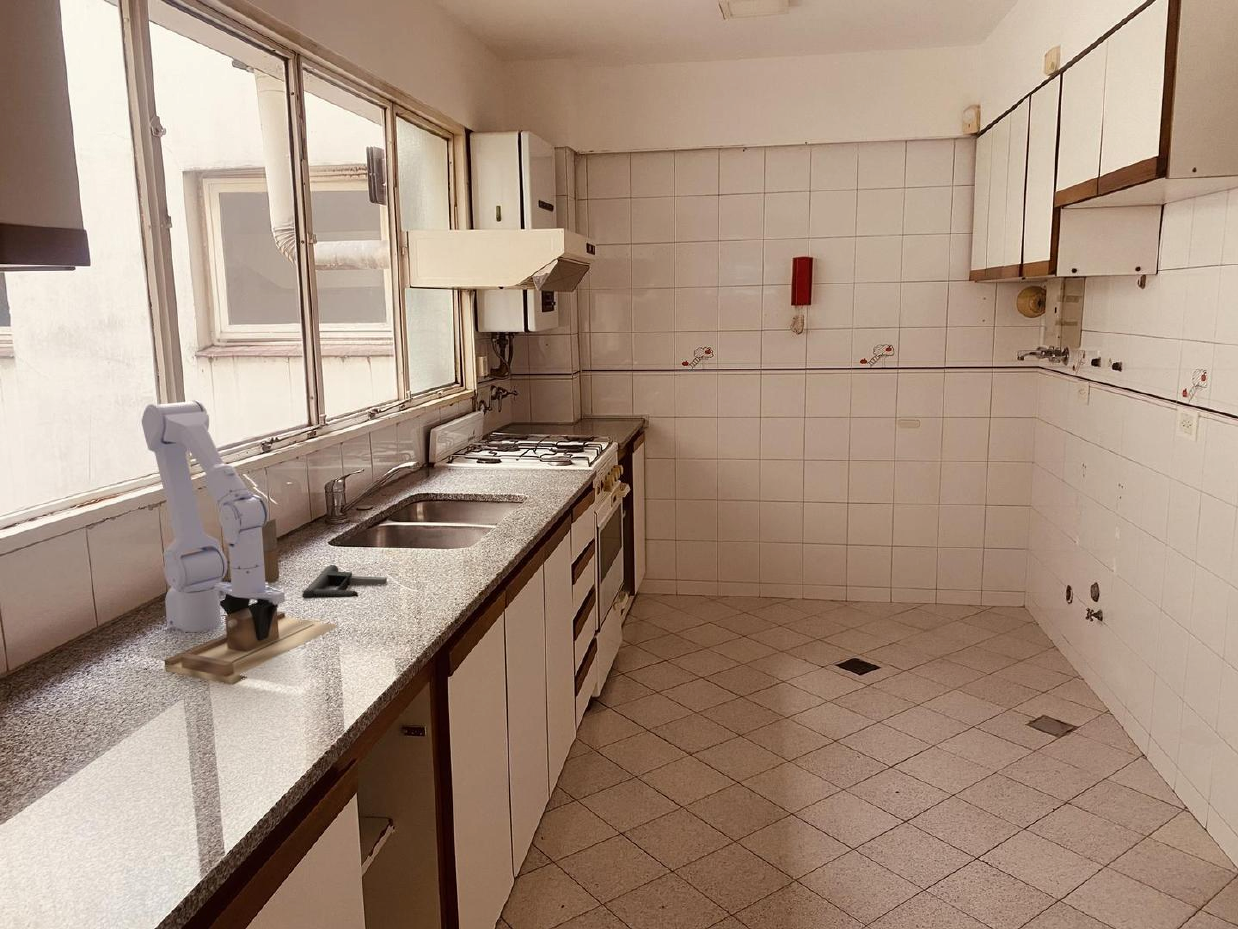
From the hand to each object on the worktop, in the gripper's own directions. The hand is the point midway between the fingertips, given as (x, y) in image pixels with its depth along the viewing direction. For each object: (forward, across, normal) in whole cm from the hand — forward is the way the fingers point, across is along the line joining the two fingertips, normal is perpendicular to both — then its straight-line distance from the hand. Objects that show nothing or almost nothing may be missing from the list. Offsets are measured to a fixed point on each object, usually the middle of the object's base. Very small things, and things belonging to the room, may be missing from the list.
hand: (252, 636), depth 166 cm
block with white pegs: (+1, 0, 0) cm, 1 cm away
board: (+2, -1, 0) cm, 3 cm away
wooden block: (+3, +32, -34) cm, 47 cm away
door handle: (+3, +8, -36) cm, 37 cm away
